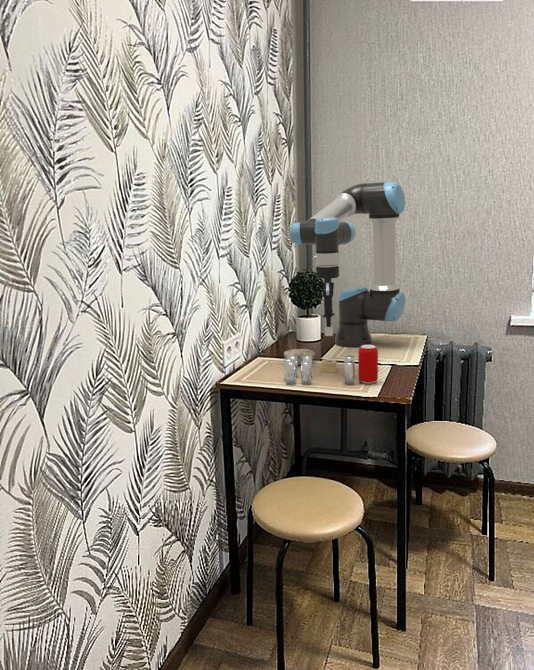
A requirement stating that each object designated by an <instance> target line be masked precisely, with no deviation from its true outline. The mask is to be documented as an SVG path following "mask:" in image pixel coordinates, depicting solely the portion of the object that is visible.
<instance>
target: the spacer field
mask: <svg viewBox="0 0 534 670" xmlns="http://www.w3.org/2000/svg"><path fill="white" fill-rule="evenodd" d="M343 363H344V365H343V366H344V385H346V386H352V385H353V386H354V385H355V370H356V369H355V365H356V364H355V356H353V355H345V356H344V362H343ZM298 367H299V365H297V356H288V359H285V358H284V359H283V378H284V379H283V380H284V381H285V383H286V385H290V386H292V385H296V384H297V378H298V377H299V374H298V373H299V372H298ZM300 373H301V374H300V377H301V379H300V380H301V382H300V383H301V385H304V386H305V385H306V386H308V385H311V384H312V378H313V359H312V356H303V362H301V365H300Z"/></svg>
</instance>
